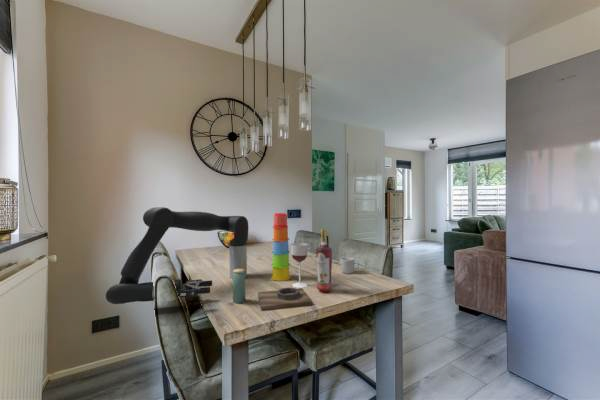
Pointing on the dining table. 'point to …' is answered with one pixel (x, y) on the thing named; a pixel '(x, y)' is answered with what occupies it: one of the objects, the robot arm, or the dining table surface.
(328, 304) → the dining table surface
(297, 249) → the wineglass
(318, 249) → the liquor
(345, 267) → the cup
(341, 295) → the dining table surface
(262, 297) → the lamp base
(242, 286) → the teal cylinder
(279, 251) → the stacking cups
